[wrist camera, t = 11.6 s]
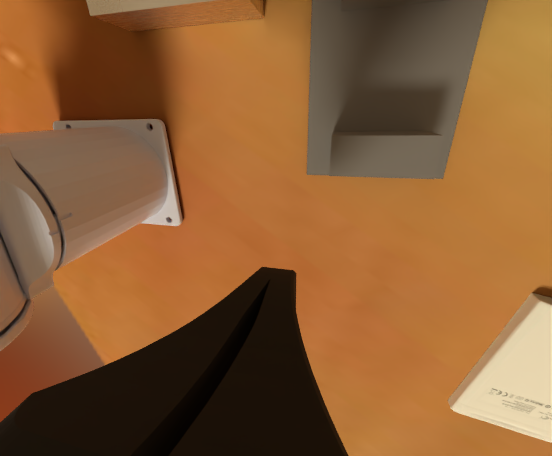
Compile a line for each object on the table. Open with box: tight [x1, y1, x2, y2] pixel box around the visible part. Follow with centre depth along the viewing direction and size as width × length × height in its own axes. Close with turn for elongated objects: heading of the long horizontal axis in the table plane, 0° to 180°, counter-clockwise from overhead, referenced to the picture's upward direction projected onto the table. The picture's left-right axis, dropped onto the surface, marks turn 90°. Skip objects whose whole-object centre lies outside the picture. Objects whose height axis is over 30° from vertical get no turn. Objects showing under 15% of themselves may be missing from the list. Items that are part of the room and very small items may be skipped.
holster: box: [307, 0, 488, 179], centre depth 12 cm, size 8×11×4 cm
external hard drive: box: [448, 293, 552, 442], centre depth 19 cm, size 2×8×12 cm
